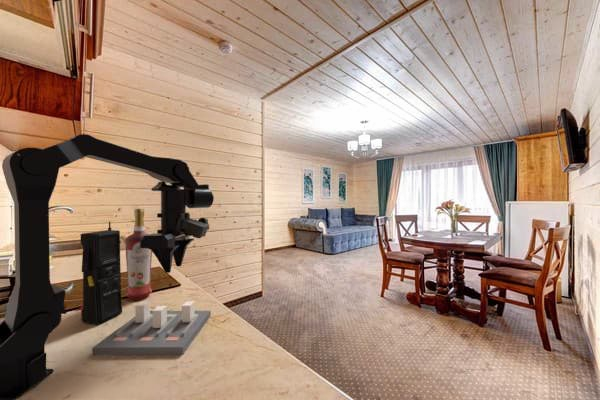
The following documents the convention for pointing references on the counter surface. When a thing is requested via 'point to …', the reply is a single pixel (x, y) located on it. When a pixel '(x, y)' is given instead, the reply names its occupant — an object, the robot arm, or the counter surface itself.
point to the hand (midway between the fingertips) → (173, 269)
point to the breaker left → (142, 312)
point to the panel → (153, 336)
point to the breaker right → (188, 311)
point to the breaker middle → (159, 316)
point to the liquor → (138, 261)
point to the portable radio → (101, 276)
